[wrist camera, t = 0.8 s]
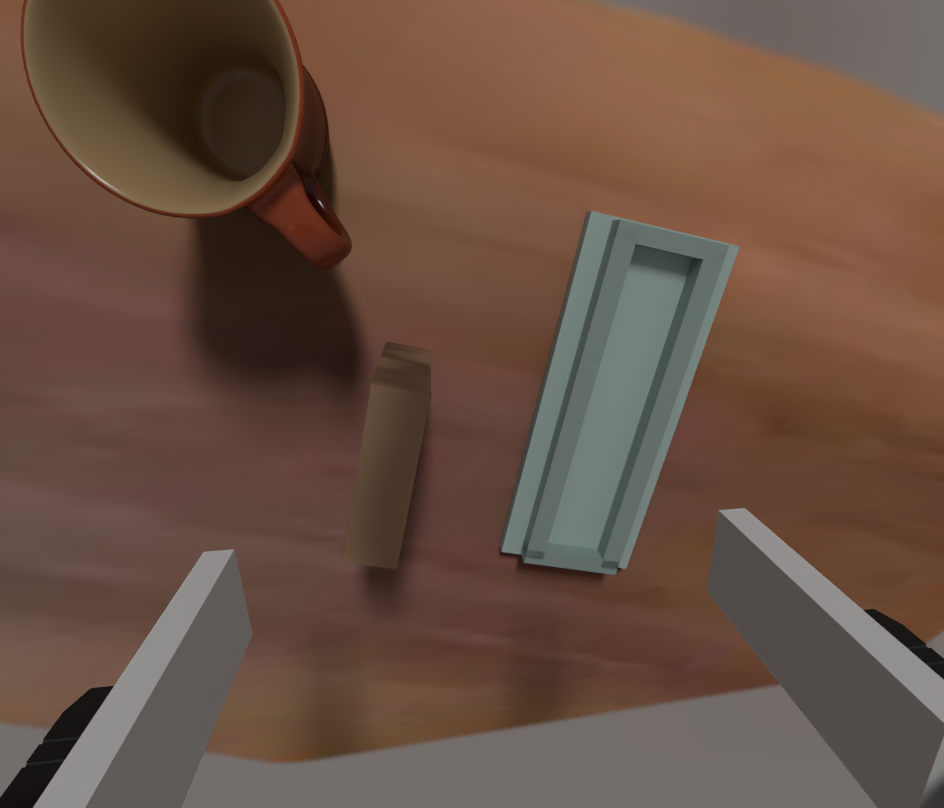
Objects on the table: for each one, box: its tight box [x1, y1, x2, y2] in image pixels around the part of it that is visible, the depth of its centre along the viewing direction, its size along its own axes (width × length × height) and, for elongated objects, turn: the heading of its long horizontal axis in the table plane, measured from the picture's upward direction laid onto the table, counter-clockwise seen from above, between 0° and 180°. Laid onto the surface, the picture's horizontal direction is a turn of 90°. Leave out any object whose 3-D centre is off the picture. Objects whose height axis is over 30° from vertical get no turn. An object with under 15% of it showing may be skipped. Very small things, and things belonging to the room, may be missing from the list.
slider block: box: [343, 342, 431, 569], centre depth 28 cm, size 3×9×9 cm, turn 168°
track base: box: [500, 211, 740, 575], centre depth 32 cm, size 9×22×2 cm, turn 168°
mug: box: [21, 0, 352, 269], centre depth 22 cm, size 12×9×10 cm
